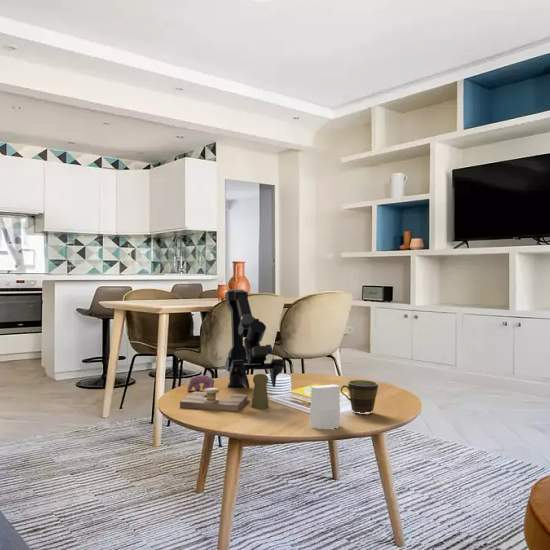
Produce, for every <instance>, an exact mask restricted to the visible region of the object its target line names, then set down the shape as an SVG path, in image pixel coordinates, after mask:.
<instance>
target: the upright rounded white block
mask: <svg viewBox="0 0 550 550" xmlns="http://www.w3.org/2000/svg"><path fill="white" fill-rule="evenodd" d="M310 391H311V392H310V406H309V408H310V409H309V426H310V427H311V428H313V429H316V428H317V430H321V429H331V428H336V427H339V428H340V425H341V424H340V422H341V421H340V420H341V419H340V418H341V407H340V400H341V399H340V398H341V397H340V396H341V395H340V394H341V386H340V385H338V384H336V383H335V384H325V385H312V386H311V389H310Z"/></svg>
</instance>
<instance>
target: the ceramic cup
mask: <svg viewBox="0 0 550 550" xmlns="http://www.w3.org/2000/svg"><path fill="white" fill-rule="evenodd" d="M344 388H347V390H348V393H349V394H348V395H349V397H348V396H347V394H345V393H344V392H343V389H344ZM378 389H379V383H378V382H376V381H372V380H365V379H364V380H363V379H360V380H359V379H356V380H355V379H354V380H349V381H348V382H347V385H342V386H340V394H342V395H343V396H345V397H346V398H347V399H348V401H350V405H351V411H352V410H353V411H354V412H360V413H365V412H371V411H373V412H374V408H375V404H376V397H377V394H378Z"/></svg>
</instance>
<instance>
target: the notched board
mask: <svg viewBox="0 0 550 550" xmlns="http://www.w3.org/2000/svg"><path fill="white" fill-rule="evenodd" d="M219 389H220V388H216V387H213V388H206V389H204V390H203V391H196V390H195V391H193V392H192V393H190V394H189V395H188V396H186V397H184V398H183V399H181V400H180V401H179V408H181V407H183V408H184V409H195V408H198V409H197V410H210V409H214V410H213V411H225V410H226V411H229V412H238V411H240V410H241V409H242V408H243V406H244V405H245V404H246V403H247V402H248V400H249V395H248V394H243V393H242V394H239V393H232V394H231V395H230V396H229V397H228V398H219V397H217V393H219V392H220V390H219ZM183 408H182V409H183Z"/></svg>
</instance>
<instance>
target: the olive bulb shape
mask: <svg viewBox="0 0 550 550" xmlns="http://www.w3.org/2000/svg"><path fill="white" fill-rule="evenodd" d="M252 381H253V385H254V387H253V392H252V400H251V405H250V406H251V408H253V409H267V408H269V399H268V398H269V397H268V387H267V386H268V385H267V384H268V382H269V377H268V375H267V374H263V373H258V374H254V376H253V378H252Z"/></svg>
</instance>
